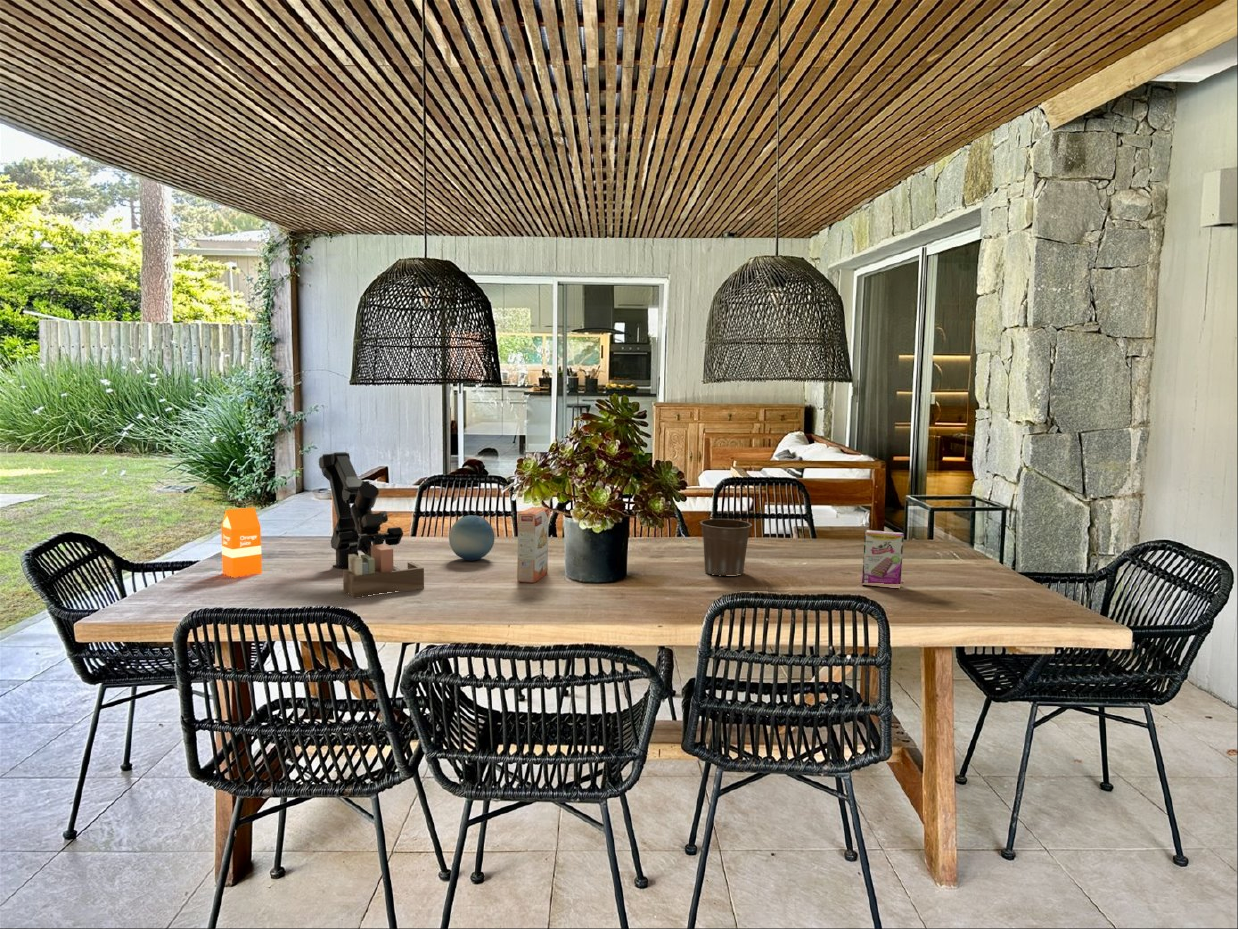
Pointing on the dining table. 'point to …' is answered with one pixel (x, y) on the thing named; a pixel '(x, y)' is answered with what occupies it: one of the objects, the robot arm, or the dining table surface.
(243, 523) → the orange juice
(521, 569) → the cracker box
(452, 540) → the decorative ball
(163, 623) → the dining table surface
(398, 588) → the book rack
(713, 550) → the plant pot
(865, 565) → the candy bar box
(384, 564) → the book
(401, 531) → the robot arm
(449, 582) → the dining table surface
